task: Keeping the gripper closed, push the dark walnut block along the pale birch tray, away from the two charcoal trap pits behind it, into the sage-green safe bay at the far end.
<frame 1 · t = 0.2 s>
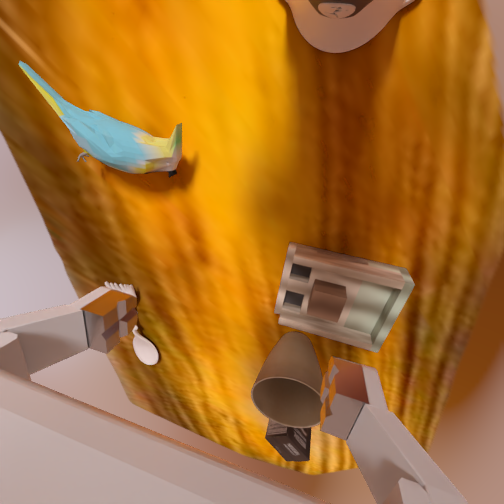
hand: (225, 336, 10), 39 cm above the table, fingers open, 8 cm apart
white plastic spork: (140, 321, 76), on the table
coffee box: (295, 384, 69), on the table
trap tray: (333, 289, 52), on the table
plant pot: (297, 341, 62), on the table
decorative bird: (134, 116, 47), on the table
walnut block: (326, 294, 50), point 2 cm above the table, touching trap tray
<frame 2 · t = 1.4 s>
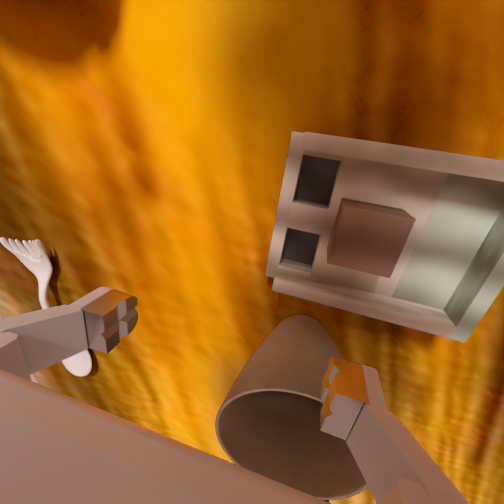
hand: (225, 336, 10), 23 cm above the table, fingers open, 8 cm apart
white plastic spork: (65, 307, 50), on the table
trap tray: (372, 226, 29), on the table
plant pot: (303, 333, 37), on the table
walnut block: (362, 230, 27), point 2 cm above the table, touching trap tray
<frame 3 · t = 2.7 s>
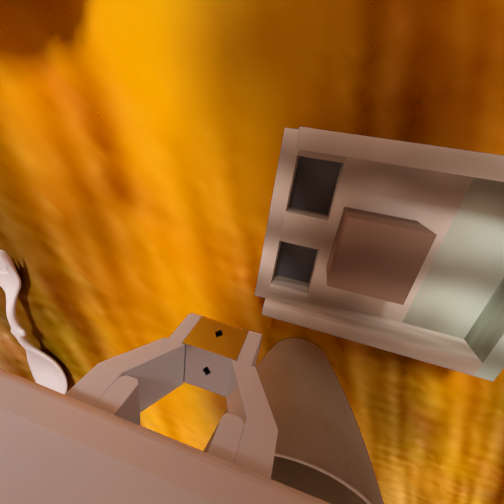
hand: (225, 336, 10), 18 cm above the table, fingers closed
white plastic spork: (38, 323, 46), on the table
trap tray: (379, 240, 24), on the table
plant pot: (299, 358, 33), on the table
walnut block: (368, 245, 22), point 2 cm above the table, touching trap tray
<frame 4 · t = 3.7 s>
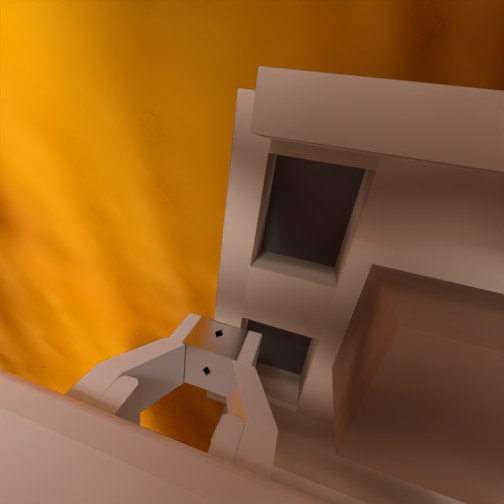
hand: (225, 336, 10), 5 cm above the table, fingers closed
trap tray: (434, 316, 13), on the table
walnut block: (420, 341, 11), point 2 cm above the table, touching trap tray
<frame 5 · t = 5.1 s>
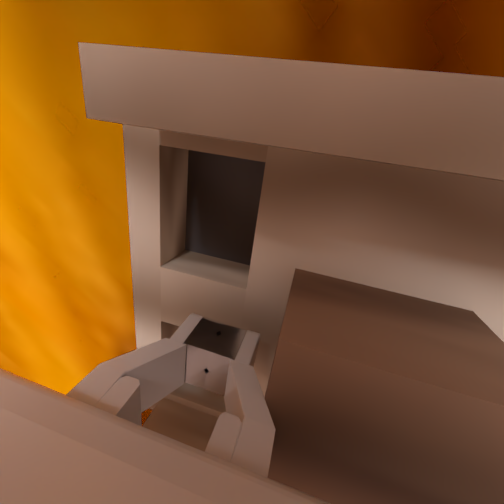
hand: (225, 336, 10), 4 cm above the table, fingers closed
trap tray: (363, 318, 12), on the table
walnut block: (353, 351, 10), point 2 cm above the table, touching gripper, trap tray
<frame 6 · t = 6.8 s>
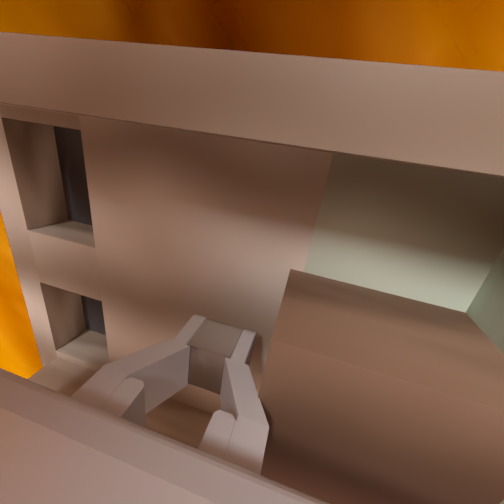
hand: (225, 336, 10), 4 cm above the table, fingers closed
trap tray: (221, 280, 13), on the table
walnut block: (347, 351, 10), point 3 cm above the table, touching gripper, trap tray
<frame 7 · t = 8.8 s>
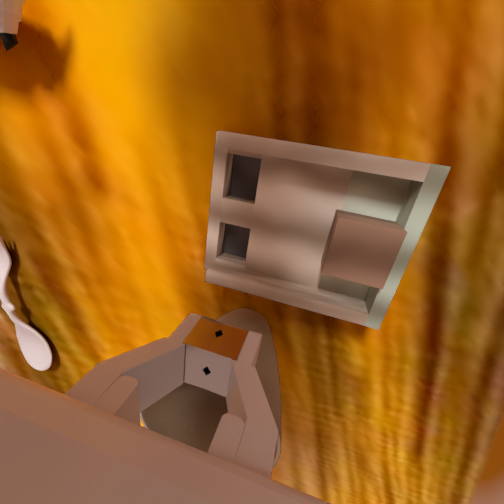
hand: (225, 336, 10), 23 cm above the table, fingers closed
white plastic spork: (26, 301, 51), on the table
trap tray: (300, 221, 30), on the table
plant pot: (248, 326, 38), on the table
walnut block: (355, 241, 27), point 2 cm above the table, touching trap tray
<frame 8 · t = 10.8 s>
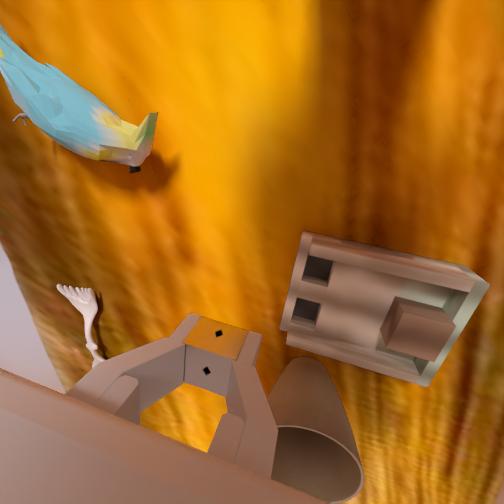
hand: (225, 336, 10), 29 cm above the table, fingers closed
white plastic spork: (103, 339, 59), on the table
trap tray: (360, 296, 38), on the table
plant pot: (307, 370, 46), on the table
decorative bird: (104, 88, 37), on the table
walnut block: (409, 319, 35), point 2 cm above the table, touching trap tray
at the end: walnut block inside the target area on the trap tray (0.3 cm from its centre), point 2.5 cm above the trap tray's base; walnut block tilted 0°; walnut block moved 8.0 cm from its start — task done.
